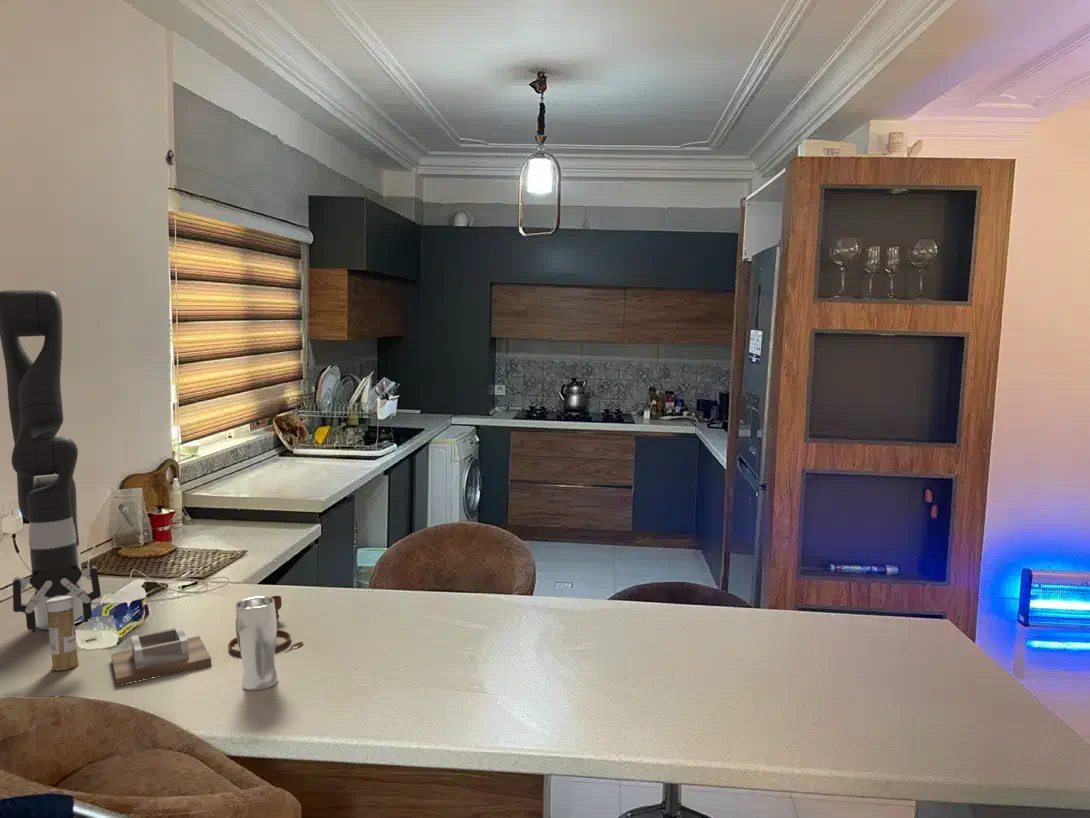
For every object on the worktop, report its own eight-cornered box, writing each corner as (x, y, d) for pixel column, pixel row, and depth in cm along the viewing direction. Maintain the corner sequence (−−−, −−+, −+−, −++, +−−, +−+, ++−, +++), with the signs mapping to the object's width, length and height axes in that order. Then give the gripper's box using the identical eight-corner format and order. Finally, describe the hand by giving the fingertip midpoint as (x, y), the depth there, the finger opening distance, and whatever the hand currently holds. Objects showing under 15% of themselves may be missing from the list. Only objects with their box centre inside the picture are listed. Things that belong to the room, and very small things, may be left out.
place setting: (204, 653, 163) (202, 625, 162) (274, 620, 181) (272, 594, 181) (272, 665, 156) (270, 635, 155) (338, 629, 174) (336, 602, 174)
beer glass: (242, 695, 141) (236, 611, 140) (237, 680, 148) (231, 600, 146) (283, 686, 145) (278, 604, 143) (277, 672, 151) (272, 593, 149)
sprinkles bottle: (79, 667, 156) (73, 599, 155) (52, 673, 154) (45, 604, 152) (78, 660, 160) (72, 593, 159) (51, 666, 157) (44, 598, 156)
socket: (111, 661, 159) (109, 636, 158) (199, 643, 167) (198, 619, 166) (116, 686, 147) (114, 659, 146) (211, 665, 155) (209, 640, 155)
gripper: (94, 533, 161) (101, 613, 162) (8, 544, 154) (16, 628, 155) (96, 540, 154) (103, 623, 156) (7, 552, 147) (15, 640, 148)
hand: (60, 626), depth 155 cm, fingers open, 8 cm apart
